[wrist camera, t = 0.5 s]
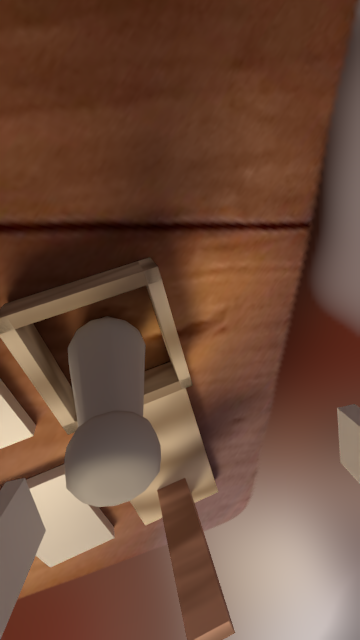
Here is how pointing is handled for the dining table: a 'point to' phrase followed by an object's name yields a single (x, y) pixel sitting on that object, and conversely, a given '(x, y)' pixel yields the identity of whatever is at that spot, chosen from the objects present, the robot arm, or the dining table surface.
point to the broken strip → (53, 496)
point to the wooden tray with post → (165, 417)
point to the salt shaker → (109, 416)
